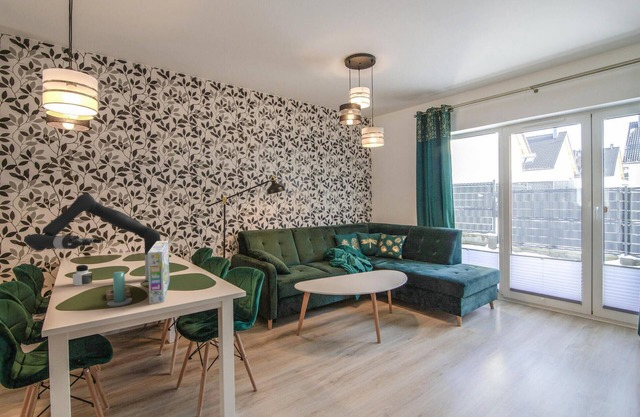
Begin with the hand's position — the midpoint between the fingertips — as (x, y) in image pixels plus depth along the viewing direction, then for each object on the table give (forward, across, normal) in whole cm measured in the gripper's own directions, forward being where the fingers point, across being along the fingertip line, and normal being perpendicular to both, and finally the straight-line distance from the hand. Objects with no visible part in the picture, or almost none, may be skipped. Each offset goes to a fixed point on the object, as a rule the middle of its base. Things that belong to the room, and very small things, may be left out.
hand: (95, 242), depth 176 cm
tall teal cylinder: (+20, -12, +29) cm, 37 cm away
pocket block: (+12, 0, +30) cm, 32 cm away
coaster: (+20, -12, +30) cm, 38 cm away
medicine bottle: (-25, +23, +30) cm, 45 cm away
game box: (+32, +6, +30) cm, 45 cm away
